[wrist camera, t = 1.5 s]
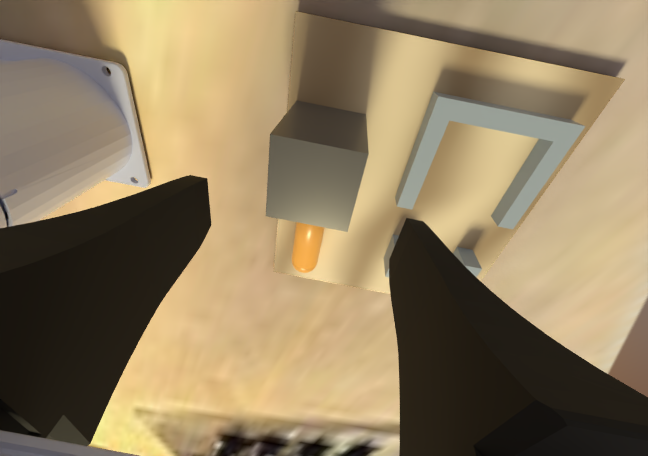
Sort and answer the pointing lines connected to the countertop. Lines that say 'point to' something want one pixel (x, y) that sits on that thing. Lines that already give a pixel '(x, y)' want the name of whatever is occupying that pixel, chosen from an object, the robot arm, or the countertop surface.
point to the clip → (462, 254)
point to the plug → (315, 174)
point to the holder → (548, 129)
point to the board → (402, 129)
